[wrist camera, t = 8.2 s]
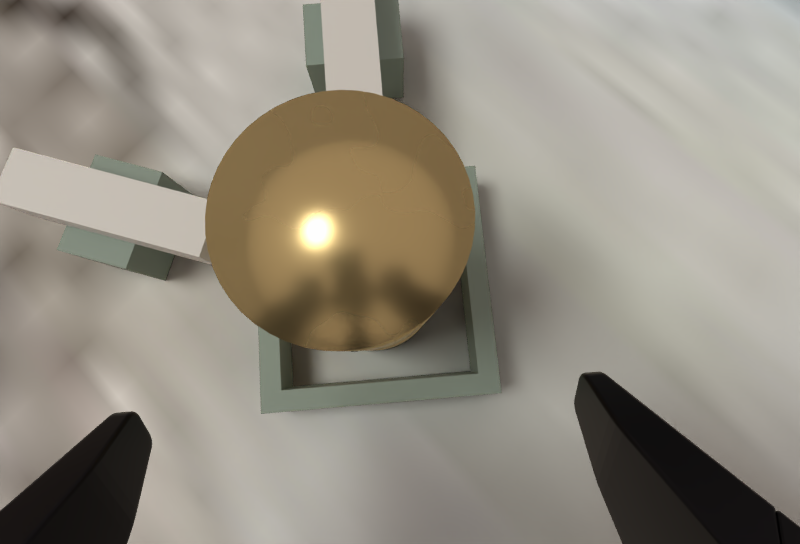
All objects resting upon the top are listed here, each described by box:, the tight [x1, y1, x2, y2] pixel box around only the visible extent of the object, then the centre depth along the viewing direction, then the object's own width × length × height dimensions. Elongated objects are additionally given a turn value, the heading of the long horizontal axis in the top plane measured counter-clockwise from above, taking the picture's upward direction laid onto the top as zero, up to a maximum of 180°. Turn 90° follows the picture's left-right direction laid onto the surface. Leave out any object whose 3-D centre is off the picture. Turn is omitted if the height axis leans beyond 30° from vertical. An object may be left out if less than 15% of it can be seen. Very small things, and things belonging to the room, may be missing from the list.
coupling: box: [205, 90, 475, 352], centre depth 14 cm, size 5×5×12 cm
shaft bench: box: [0, 0, 501, 414], centre depth 19 cm, size 18×17×5 cm
